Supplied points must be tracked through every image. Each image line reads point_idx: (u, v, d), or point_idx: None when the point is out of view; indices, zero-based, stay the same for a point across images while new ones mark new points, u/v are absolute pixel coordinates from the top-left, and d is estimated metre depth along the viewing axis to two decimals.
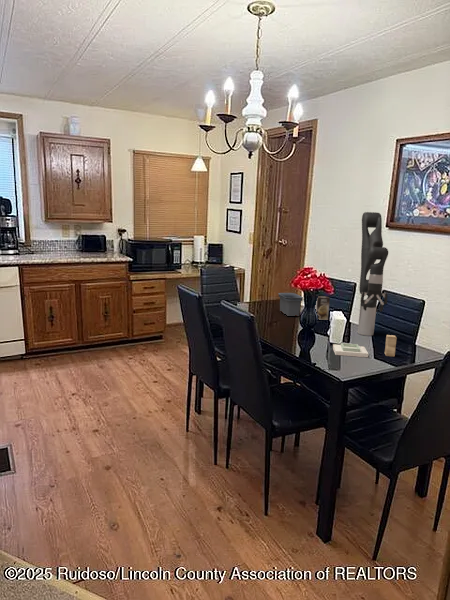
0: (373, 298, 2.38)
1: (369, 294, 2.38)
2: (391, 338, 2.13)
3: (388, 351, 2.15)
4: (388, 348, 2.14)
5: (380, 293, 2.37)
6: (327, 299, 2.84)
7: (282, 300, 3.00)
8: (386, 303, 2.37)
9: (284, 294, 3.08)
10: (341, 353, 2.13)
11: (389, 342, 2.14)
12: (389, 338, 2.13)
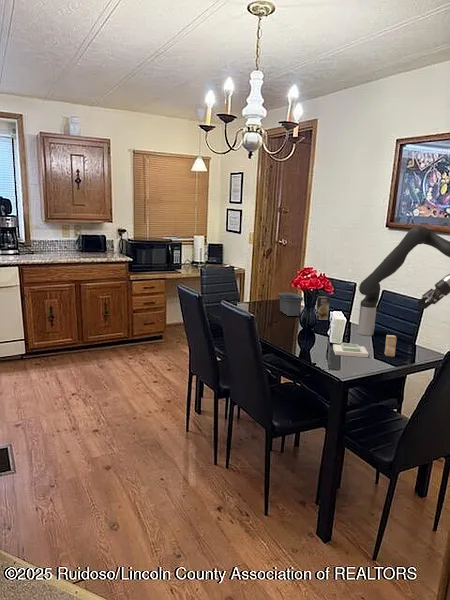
0: None
1: None
2: (391, 338, 2.13)
3: (388, 351, 2.15)
4: (388, 348, 2.14)
5: None
6: (327, 299, 2.84)
7: (282, 300, 3.00)
8: None
9: (284, 294, 3.08)
10: (341, 353, 2.13)
11: (389, 342, 2.14)
12: (389, 338, 2.13)
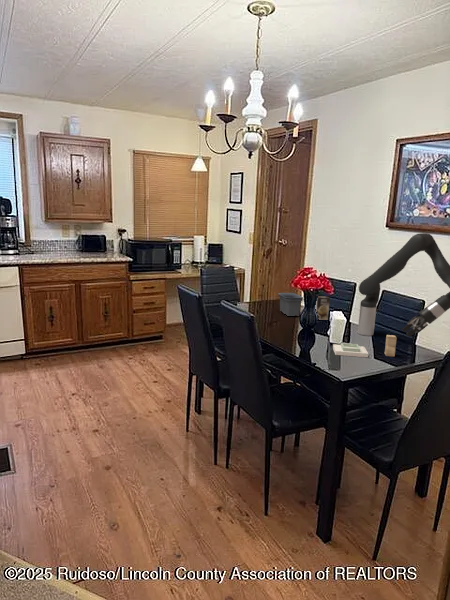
0: None
1: None
2: (391, 338, 2.13)
3: (388, 351, 2.15)
4: (388, 348, 2.14)
5: None
6: (327, 299, 2.84)
7: (282, 300, 3.00)
8: None
9: (284, 294, 3.08)
10: (341, 353, 2.13)
11: (389, 342, 2.14)
12: (389, 338, 2.13)
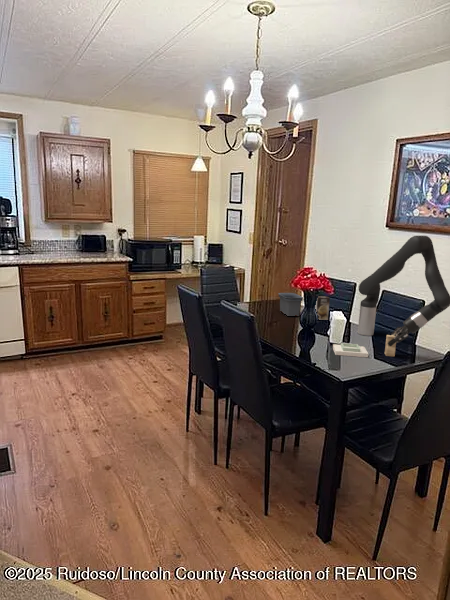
0: None
1: None
2: (391, 338, 2.13)
3: (388, 351, 2.15)
4: (388, 348, 2.14)
5: None
6: (327, 299, 2.84)
7: (282, 300, 3.00)
8: None
9: (284, 294, 3.08)
10: (341, 353, 2.13)
11: None
12: (389, 338, 2.13)
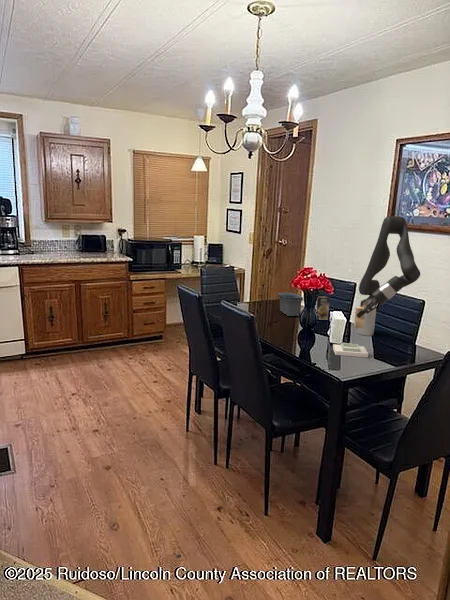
0: None
1: None
2: (360, 310, 2.12)
3: (357, 323, 2.13)
4: (357, 320, 2.13)
5: None
6: (327, 299, 2.84)
7: (282, 300, 3.00)
8: None
9: (284, 294, 3.08)
10: (341, 353, 2.13)
11: None
12: (358, 310, 2.12)
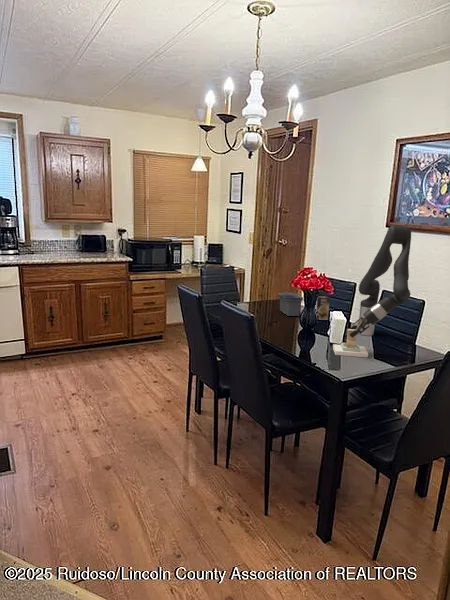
0: None
1: None
2: (351, 332, 2.14)
3: (348, 345, 2.16)
4: (348, 342, 2.16)
5: None
6: (327, 299, 2.84)
7: (282, 300, 3.00)
8: None
9: (284, 294, 3.08)
10: (341, 353, 2.13)
11: (349, 336, 2.15)
12: (349, 332, 2.15)
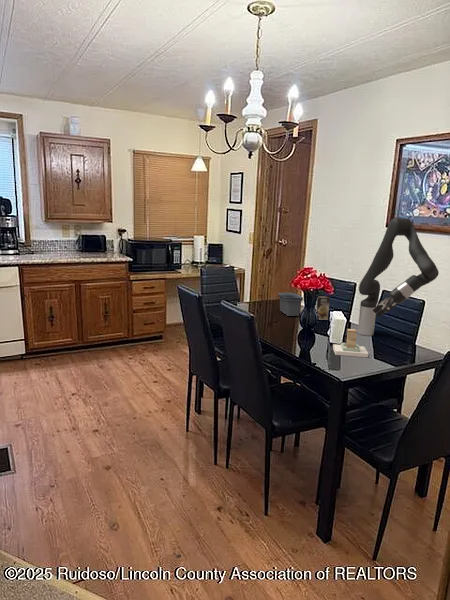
0: None
1: None
2: (351, 332, 2.14)
3: (348, 345, 2.16)
4: (348, 342, 2.16)
5: None
6: (327, 299, 2.84)
7: (282, 300, 3.00)
8: None
9: (284, 294, 3.08)
10: (341, 353, 2.13)
11: (349, 336, 2.15)
12: (349, 332, 2.15)
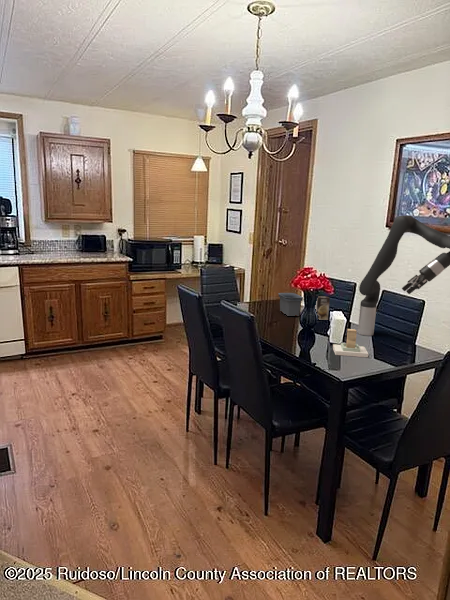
0: None
1: None
2: (351, 332, 2.14)
3: (348, 345, 2.16)
4: (348, 342, 2.16)
5: None
6: (327, 299, 2.84)
7: (282, 300, 3.00)
8: None
9: (284, 294, 3.08)
10: (341, 353, 2.13)
11: (349, 336, 2.15)
12: (349, 332, 2.15)
